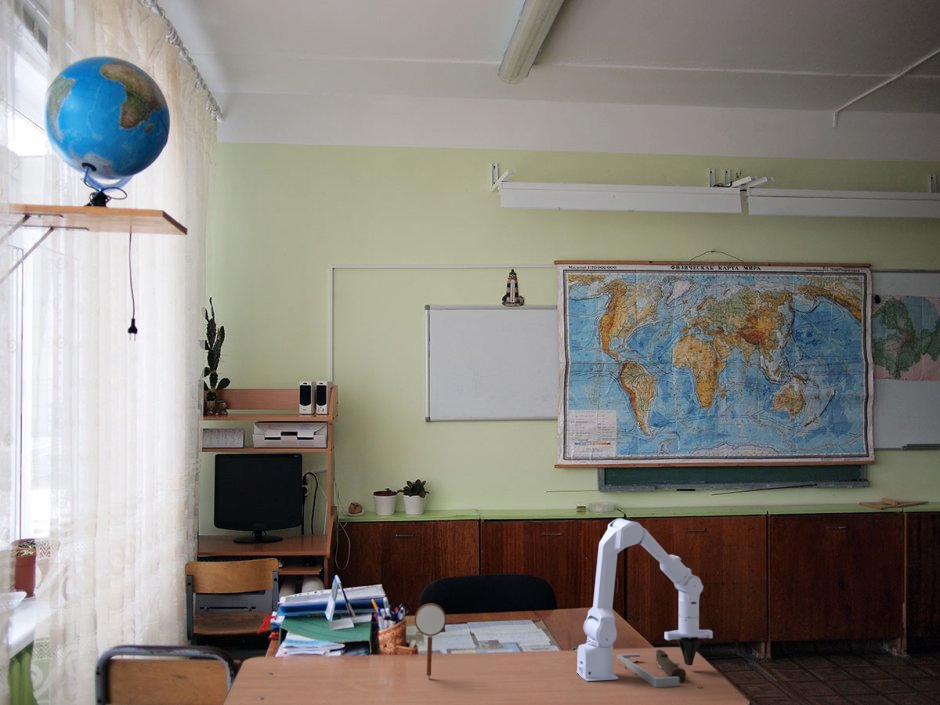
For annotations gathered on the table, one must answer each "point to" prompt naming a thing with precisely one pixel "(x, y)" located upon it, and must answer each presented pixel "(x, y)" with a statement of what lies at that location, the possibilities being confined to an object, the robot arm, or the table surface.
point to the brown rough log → (670, 666)
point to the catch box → (648, 676)
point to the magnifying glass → (430, 626)
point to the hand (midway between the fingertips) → (688, 664)
